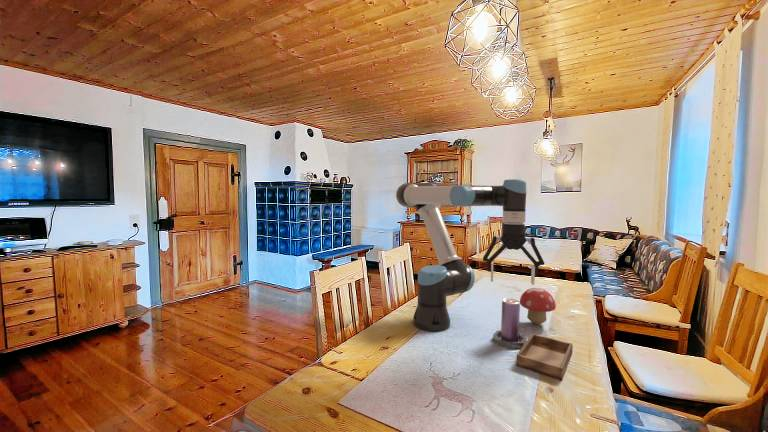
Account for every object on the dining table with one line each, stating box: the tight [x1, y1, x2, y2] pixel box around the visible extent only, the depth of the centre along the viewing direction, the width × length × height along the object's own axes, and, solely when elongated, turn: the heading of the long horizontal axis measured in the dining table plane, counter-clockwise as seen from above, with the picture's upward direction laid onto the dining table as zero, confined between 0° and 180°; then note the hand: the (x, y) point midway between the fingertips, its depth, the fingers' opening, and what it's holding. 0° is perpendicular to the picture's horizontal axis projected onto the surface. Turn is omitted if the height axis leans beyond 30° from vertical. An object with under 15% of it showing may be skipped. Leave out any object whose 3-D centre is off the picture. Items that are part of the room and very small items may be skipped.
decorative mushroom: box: [519, 287, 557, 326], centre depth 131 cm, size 13×13×15 cm
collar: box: [492, 330, 528, 350], centre depth 115 cm, size 10×10×2 cm
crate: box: [515, 333, 574, 381], centre depth 103 cm, size 13×20×4 cm, turn 142°
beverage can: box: [500, 298, 521, 342], centre depth 115 cm, size 6×6×15 cm
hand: (511, 282), depth 114 cm, fingers open, 13 cm apart
